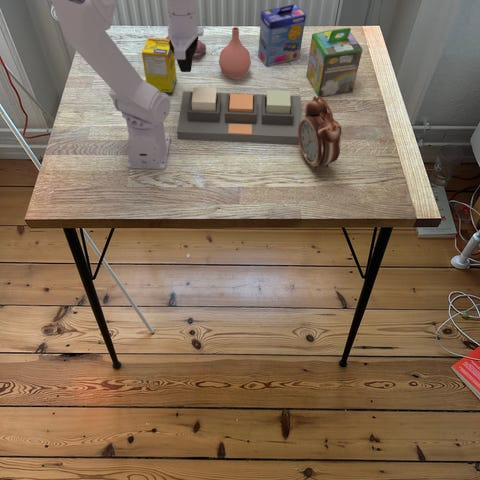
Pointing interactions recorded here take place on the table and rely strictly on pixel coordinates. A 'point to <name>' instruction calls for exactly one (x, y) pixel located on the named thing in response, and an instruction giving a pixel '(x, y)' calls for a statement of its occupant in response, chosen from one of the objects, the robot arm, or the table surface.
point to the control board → (239, 122)
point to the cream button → (204, 99)
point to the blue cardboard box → (281, 34)
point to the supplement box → (159, 65)
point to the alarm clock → (319, 134)
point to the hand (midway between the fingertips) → (185, 70)
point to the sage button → (278, 102)
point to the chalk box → (333, 61)
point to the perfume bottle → (234, 57)
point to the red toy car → (198, 47)
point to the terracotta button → (241, 103)
